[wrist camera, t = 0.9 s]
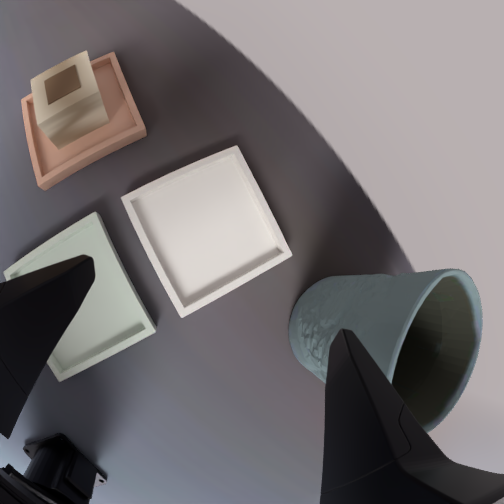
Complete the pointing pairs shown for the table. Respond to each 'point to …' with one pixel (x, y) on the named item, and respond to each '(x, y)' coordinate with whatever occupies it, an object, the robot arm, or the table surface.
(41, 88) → the letter cube
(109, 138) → the dish
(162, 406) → the table surface
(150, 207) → the dish
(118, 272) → the dish
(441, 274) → the teal patterned cup
